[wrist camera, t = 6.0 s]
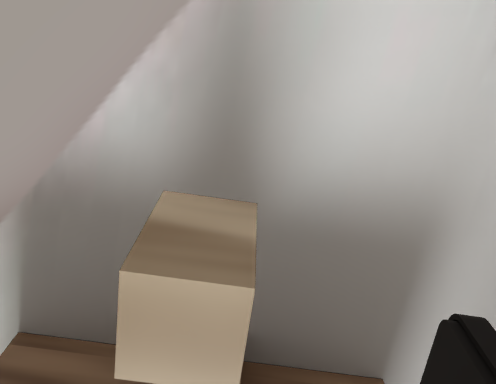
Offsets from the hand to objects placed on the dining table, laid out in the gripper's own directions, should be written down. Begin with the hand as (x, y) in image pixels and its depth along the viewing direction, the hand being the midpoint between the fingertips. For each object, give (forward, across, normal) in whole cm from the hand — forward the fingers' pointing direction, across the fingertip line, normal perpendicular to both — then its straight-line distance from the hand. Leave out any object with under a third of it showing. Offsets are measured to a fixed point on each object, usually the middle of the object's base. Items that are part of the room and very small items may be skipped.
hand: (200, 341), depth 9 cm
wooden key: (+4, 0, +3) cm, 5 cm away
